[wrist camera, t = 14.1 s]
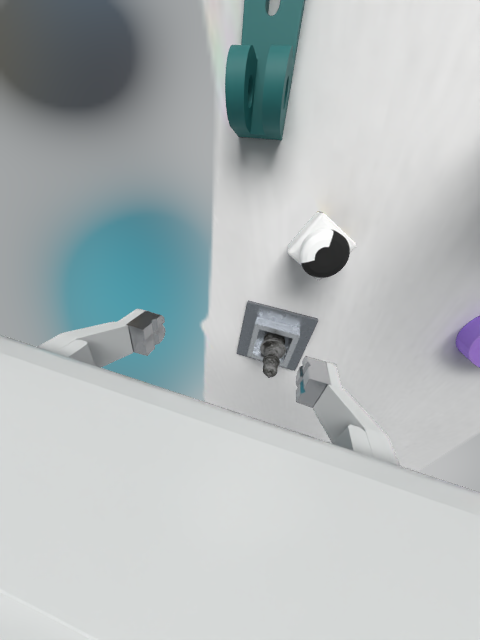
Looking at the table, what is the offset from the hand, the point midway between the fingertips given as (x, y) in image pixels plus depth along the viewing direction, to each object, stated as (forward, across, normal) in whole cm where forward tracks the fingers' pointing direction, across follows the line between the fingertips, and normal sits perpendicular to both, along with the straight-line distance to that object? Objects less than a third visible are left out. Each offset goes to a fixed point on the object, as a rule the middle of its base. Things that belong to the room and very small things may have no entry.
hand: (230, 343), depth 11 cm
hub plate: (+31, -5, +21) cm, 38 cm away
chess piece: (+30, -6, +21) cm, 37 cm away
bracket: (+32, +7, -24) cm, 40 cm away
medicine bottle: (+31, -7, -2) cm, 32 cm away
